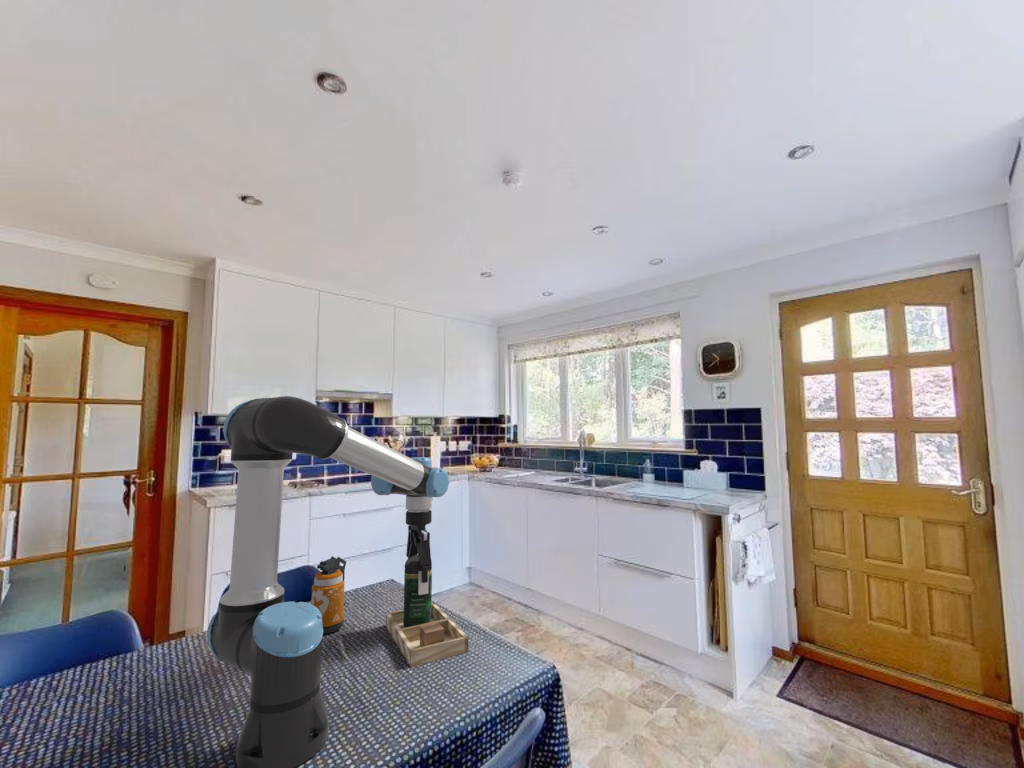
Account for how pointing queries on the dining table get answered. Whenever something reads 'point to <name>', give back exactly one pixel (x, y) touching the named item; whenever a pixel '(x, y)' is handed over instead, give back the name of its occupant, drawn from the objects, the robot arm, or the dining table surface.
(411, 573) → the coffee jar
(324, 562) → the canister
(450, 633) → the slot rack
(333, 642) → the dining table surface
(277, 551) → the robot arm
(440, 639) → the walnut block
